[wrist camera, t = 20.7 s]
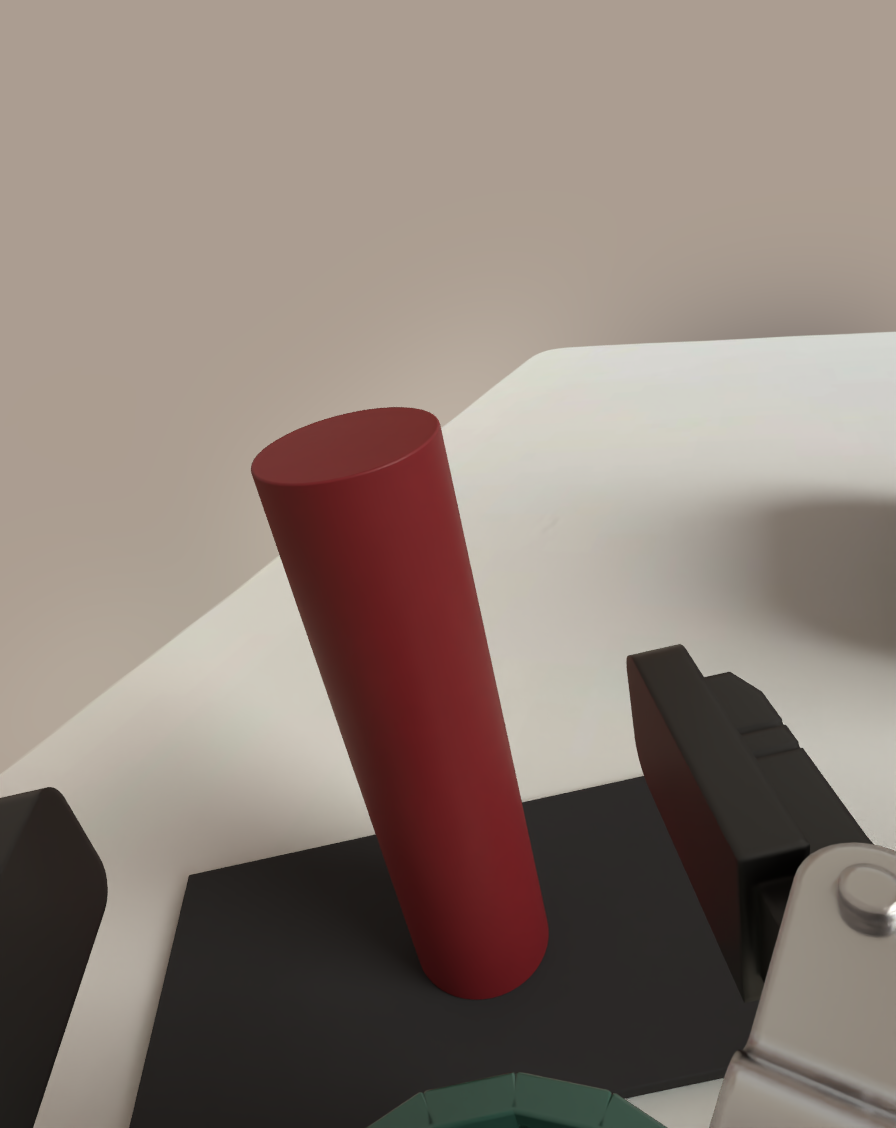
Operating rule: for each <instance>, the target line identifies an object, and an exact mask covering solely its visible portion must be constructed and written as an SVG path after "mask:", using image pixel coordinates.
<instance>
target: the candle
mask: <svg viewBox="0 0 896 1128" xmlns="http://www.w3.org/2000/svg"><path fill="white" fill-rule="evenodd" d="M251 473H252V476H253V479H254V482H255V485H256V487H257V490H258V494H259V496H260V499H261V502H262V505H263V508H264V511H265V514H266V517H267V520H268V522H269V525H270V528H271V531H272V534H273V537H274V540H275V543H276V546H277V549H278V552H279V555H280V557H281V560H282V563H283V566H284V569H285V572H286V575H287V578H288V581H289V584H290V586H291V589H292V592H293V595H294V598H295V601H296V604H297V607H298V610H299V613H300V616H301V618H302V621H303V624H304V627H305V630H306V633H307V636H308V639H309V642H310V645H311V648H312V650H313V653H314V656H315V659H316V662H317V665H318V668H319V671H320V674H321V677H322V679H323V682H324V685H325V688H326V691H327V694H328V697H329V700H330V703H331V706H332V709H333V711H334V714H335V717H336V720H337V723H338V726H339V729H340V732H341V735H342V738H343V741H344V743H345V746H346V749H347V752H348V755H349V758H350V761H351V764H352V767H353V770H354V772H355V775H356V778H357V781H358V784H359V787H360V790H361V793H362V796H363V799H364V802H365V804H366V807H367V810H368V813H369V816H370V819H371V822H372V825H373V828H374V831H375V834H376V836H377V839H378V842H379V845H380V848H381V851H382V854H383V857H384V860H385V863H386V865H387V868H388V871H389V874H390V877H391V880H392V883H393V886H394V889H395V892H396V895H397V897H398V900H399V903H400V906H401V909H402V912H403V915H404V918H405V921H406V924H407V926H408V929H409V932H410V935H411V938H412V941H413V944H414V947H415V950H416V953H417V956H418V958H419V961H420V964H421V966H422V969H423V971H424V972H425V974H426V975H427V977H428V978H429V979H430V980H431V981H432V983H433V984H435V985H436V986H437V987H438V988H440V989H441V990H443V991H445V992H446V993H448V994H451V995H453V996H455V997H459V998H463V999H471V1000H483V999H489V998H494V997H498V996H501V995H503V994H506V993H508V992H510V991H512V990H514V989H515V988H517V987H519V986H520V985H521V984H523V983H524V982H525V981H526V980H527V979H528V978H529V977H530V976H531V975H532V974H533V973H534V972H535V970H536V969H537V968H538V966H539V964H540V963H541V961H542V959H543V957H544V955H545V952H546V948H547V945H548V938H549V928H548V922H547V917H546V912H545V908H544V903H543V898H542V894H541V889H540V885H539V880H538V875H537V871H536V866H535V861H534V857H533V852H532V848H531V843H530V838H529V834H528V829H527V824H526V820H525V815H524V811H523V806H522V801H521V797H520V792H519V787H518V783H517V778H516V774H515V769H514V764H513V760H512V755H511V750H510V746H509V741H508V736H507V732H506V727H505V723H504V718H503V713H502V709H501V704H500V699H499V695H498V690H497V686H496V681H495V676H494V672H493V667H492V662H491V658H490V653H489V649H488V644H487V639H486V635H485V630H484V625H483V621H482V616H481V611H480V607H479V602H478V598H477V593H476V588H475V584H474V579H473V574H472V570H471V565H470V561H469V556H468V551H467V547H466V542H465V537H464V533H463V528H462V524H461V519H460V514H459V510H458V505H457V500H456V496H455V491H454V486H453V482H452V477H451V473H450V468H449V463H448V459H447V454H446V449H445V445H444V440H443V436H442V431H441V426H440V423H439V420H438V419H437V418H436V417H435V416H434V415H433V414H431V413H430V412H427V411H424V410H420V409H415V408H404V407H389V408H377V409H369V410H362V411H357V412H352V413H347V414H343V415H339V416H335V417H331V418H328V419H324V420H322V421H318V422H315V423H313V424H310V425H308V426H305V427H302V428H300V429H297V430H295V431H293V432H291V433H289V434H287V435H285V436H283V437H281V438H280V439H278V440H276V441H275V442H273V443H271V444H270V445H268V446H267V447H266V448H264V449H263V450H262V451H261V452H260V453H259V454H258V455H257V456H256V458H255V459H254V460H253V463H252V466H251Z"/></svg>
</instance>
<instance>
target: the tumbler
mask: <svg viewBox="0 0 896 1128" xmlns="http://www.w3.org/2000/svg"><path fill="white" fill-rule="evenodd" d="M367 1128H667V1127H666V1126H664V1125H663V1124H661V1123H660V1122H658V1121H657V1120H655V1119H654V1118H652V1117H651V1116H649V1115H648V1114H646V1113H645V1112H643V1111H642V1110H640V1109H639V1108H637V1107H636V1106H634V1105H633V1104H631V1103H630V1102H628V1101H627V1100H625V1099H624V1098H622V1097H621V1096H619V1095H618V1094H615V1093H613V1094H612V1093H611V1092H610V1091H609V1090H606V1089H601V1088H596V1087H591V1086H586V1085H581V1084H576V1083H571V1082H567V1081H562V1080H557V1079H552V1078H547V1077H542V1076H537V1075H532V1074H527V1073H522V1072H517V1073H516V1074H515V1073H513V1072H510V1073H505V1074H501V1075H496V1076H491V1077H486V1078H482V1079H477V1080H472V1081H468V1082H463V1083H458V1084H454V1085H449V1086H444V1087H440V1088H435V1089H430V1090H426V1091H425V1092H424V1094H423V1093H422V1092H419V1093H417V1094H416V1095H414V1096H413V1097H411V1098H410V1099H408V1100H407V1101H405V1102H404V1103H402V1104H401V1105H399V1106H398V1107H396V1108H395V1109H394V1110H392V1111H391V1112H389V1113H388V1114H386V1115H385V1116H383V1117H382V1118H380V1119H379V1120H377V1121H376V1122H374V1123H373V1124H371V1125H370V1126H368V1127H367Z"/></svg>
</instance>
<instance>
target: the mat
mask: <svg viewBox="0 0 896 1128" xmlns="http://www.w3.org/2000/svg"><path fill="white" fill-rule="evenodd" d="M522 806H523V811H524V815H525V820H526V824H527V829H528V834H529V838H530V843H531V848H532V852H533V857H534V861H535V866H536V871H537V875H538V880H539V885H540V889H541V894H542V898H543V903H544V908H545V912H546V917H547V922H548V928H549V938H548V945H547V948H546V952H545V955H544V957H543V959H542V961H541V963H540V964H539V966H538V968H537V969H536V970H535V972H534V973H533V974H532V975H531V976H530V977H529V978H528V979H527V980H526V981H525V982H524V983H523V984H521V985H520V986H519V987H517V988H515V989H514V990H512V991H510V992H508V993H506V994H503V995H501V996H498V997H494V998H489V999H483V1000H471V999H463V998H459V997H455V996H453V995H451V994H448V993H446V992H445V991H443V990H441V989H440V988H438V987H437V986H436V985H435V984H433V983H432V981H431V980H430V979H429V978H428V977H427V975H426V974H425V972H424V971H423V969H422V966H421V964H420V961H419V958H418V956H417V953H416V950H415V947H414V944H413V941H412V938H411V935H410V932H409V929H408V926H407V924H406V921H405V918H404V915H403V912H402V909H401V906H400V903H399V900H398V897H397V895H396V892H395V889H394V886H393V883H392V880H391V877H390V874H389V871H388V868H387V865H386V863H385V860H384V857H383V854H382V851H381V848H380V845H379V842H378V839H377V836H376V835H372V836H367V837H362V838H358V839H353V840H349V841H344V842H340V843H335V844H330V845H326V846H321V847H317V848H312V849H307V850H303V851H298V852H294V853H289V854H285V855H280V856H275V857H271V858H266V859H262V860H257V861H253V862H248V863H243V864H239V865H234V866H230V867H225V868H220V869H216V870H211V871H207V872H202V873H198V874H193V875H189V878H188V882H187V887H186V891H185V895H184V899H183V904H182V908H181V912H180V916H179V920H178V925H177V929H176V933H175V937H174V941H173V946H172V950H171V954H170V958H169V963H168V967H167V971H166V975H165V979H164V984H163V988H162V992H161V996H160V1000H159V1005H158V1009H157V1013H156V1017H155V1022H154V1026H153V1030H152V1034H151V1038H150V1043H149V1047H148V1051H147V1055H146V1059H145V1064H144V1068H143V1072H142V1076H141V1081H140V1085H139V1089H138V1093H137V1097H136V1102H135V1106H134V1110H133V1114H132V1118H131V1123H130V1127H129V1128H367V1127H368V1126H370V1125H371V1124H373V1123H374V1122H376V1121H377V1120H379V1119H380V1118H382V1117H383V1116H385V1115H386V1114H388V1113H389V1112H391V1111H392V1110H394V1109H395V1108H396V1107H398V1106H399V1105H401V1104H402V1103H404V1102H405V1101H407V1100H408V1099H410V1098H411V1097H413V1096H414V1095H416V1094H417V1093H419V1092H422V1093H423V1094H424V1092H425V1091H426V1090H430V1089H435V1088H440V1087H444V1086H449V1085H454V1084H458V1083H463V1082H468V1081H472V1080H477V1079H482V1078H486V1077H491V1076H496V1075H501V1074H505V1073H510V1072H513V1073H515V1074H516V1073H517V1072H522V1073H527V1074H532V1075H537V1076H542V1077H547V1078H552V1079H557V1080H562V1081H567V1082H571V1083H576V1084H581V1085H586V1086H591V1087H596V1088H601V1089H606V1090H609V1091H610V1092H611V1093H612V1094H613V1093H615V1094H618V1095H619V1096H621V1097H622V1098H624V1099H625V1098H630V1097H634V1096H639V1095H644V1094H648V1093H653V1092H658V1091H663V1090H667V1089H672V1088H677V1087H681V1086H686V1085H691V1084H696V1083H700V1082H705V1081H710V1080H714V1079H719V1078H724V1077H725V1074H726V1071H727V1068H728V1066H729V1063H730V1061H731V1059H732V1057H733V1055H734V1053H735V1052H736V1051H737V1050H738V1049H740V1050H743V1049H744V1048H745V1046H746V1044H747V1042H748V1039H749V1036H750V1033H751V1029H752V1026H753V1022H754V1019H755V1015H756V1012H757V1008H758V1005H759V1001H760V1000H755V1001H751V1002H746V1003H744V1001H743V999H742V997H741V995H740V992H739V990H738V988H737V986H736V983H735V981H734V979H733V977H732V974H731V972H730V970H729V968H728V965H727V963H726V961H725V959H724V956H723V954H722V952H721V950H720V947H719V945H718V943H717V941H716V938H715V936H714V934H713V932H712V929H711V927H710V925H709V923H708V920H707V918H706V916H705V914H704V911H703V909H702V907H701V905H700V902H699V900H698V898H697V896H696V893H695V891H694V889H693V887H692V884H691V882H690V880H689V878H688V875H687V873H686V871H685V869H684V866H683V864H682V862H681V860H680V857H679V855H678V853H677V850H676V848H675V846H674V844H673V841H672V839H671V837H670V835H669V832H668V830H667V828H666V826H665V823H664V821H663V819H662V817H661V814H660V812H659V810H658V808H657V805H656V803H655V801H654V799H653V796H652V794H651V792H650V790H649V787H648V785H647V782H646V780H645V777H644V776H642V777H637V778H633V779H628V780H624V781H619V782H614V783H610V784H605V785H601V786H596V787H592V788H587V789H582V790H578V791H573V792H569V793H564V794H560V795H555V796H550V797H546V798H541V799H537V800H532V801H527V802H523V803H522Z"/></svg>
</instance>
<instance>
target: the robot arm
mask: <svg viewBox="0 0 896 1128" xmlns="http://www.w3.org/2000/svg"><path fill="white" fill-rule="evenodd" d="M627 675H628V683H629V692H630V700H631V709H632V717H633V726H634V734H635V742H636V747H637V752H638V757H639V761H640V764H641V768H642V771H643V774H644V777H645V780H646V782H647V785H648V787H649V790H650V792H651V794H652V796H653V799H654V801H655V803H656V805H657V808H658V810H659V812H660V814H661V817H662V819H663V821H664V823H665V826H666V828H667V830H668V832H669V835H670V837H671V839H672V841H673V844H674V846H675V848H676V850H677V853H678V855H679V857H680V860H681V862H682V864H683V866H684V869H685V871H686V873H687V875H688V878H689V880H690V882H691V884H692V887H693V889H694V891H695V893H696V896H697V898H698V900H699V902H700V905H701V907H702V909H703V911H704V914H705V916H706V918H707V920H708V923H709V925H710V927H711V929H712V932H713V934H714V936H715V938H716V941H717V943H718V945H719V947H720V950H721V952H722V954H723V956H724V959H725V961H726V963H727V965H728V968H729V970H730V972H731V974H732V977H733V979H734V981H735V983H736V986H737V988H738V990H739V992H740V995H741V997H742V999H743V1001H744V1003H746V1002H751V1001H755V1000H760V1001H759V1005H758V1008H757V1012H756V1015H755V1019H754V1022H753V1026H752V1029H751V1033H750V1036H749V1039H748V1042H747V1044H746V1046H745V1048H744V1049H743V1050H740V1049H738V1050H737V1051H736V1052H735V1053H734V1055H733V1057H732V1059H731V1061H730V1063H729V1066H728V1068H727V1071H726V1074H725V1077H724V1080H723V1083H722V1086H721V1090H720V1093H719V1096H718V1100H717V1103H716V1107H715V1110H714V1113H713V1117H712V1120H711V1124H710V1127H709V1128H896V851H894V850H891V849H888V848H885V847H882V846H878V845H874V844H873V843H872V842H871V841H870V839H869V838H868V837H867V836H866V835H865V833H864V832H863V830H862V829H861V828H860V826H859V825H858V824H857V822H856V821H855V819H854V818H853V817H852V815H851V814H850V813H849V811H848V810H847V808H846V807H845V806H844V804H843V803H842V801H841V800H840V799H839V797H838V796H837V795H836V793H835V792H834V790H833V789H832V788H831V786H830V785H829V784H828V782H827V781H826V779H825V778H824V777H823V775H822V774H821V773H820V771H819V770H818V768H817V767H816V766H815V764H814V763H813V761H812V760H811V759H810V757H809V756H808V755H807V753H806V752H805V750H804V749H803V748H800V747H799V743H798V741H797V739H796V738H795V737H794V735H793V734H792V733H791V731H790V730H789V728H788V727H787V726H786V725H783V723H782V719H781V717H780V716H779V715H778V713H777V712H776V710H775V709H774V708H773V706H772V705H771V704H770V702H769V701H768V699H767V698H766V697H765V695H764V694H763V693H762V692H761V691H760V690H758V689H757V688H755V687H753V686H752V685H750V684H749V683H747V682H745V681H744V680H742V679H741V678H739V677H737V676H736V675H734V674H733V673H731V672H726V673H722V674H717V675H713V676H708V677H703V675H702V674H701V672H700V670H699V669H698V667H697V666H696V664H695V663H694V661H693V659H692V658H691V656H690V655H689V653H688V652H687V650H686V649H685V647H684V646H683V645H681V644H678V645H674V646H669V647H665V648H660V649H656V650H651V651H647V652H642V653H638V654H633V655H629V656H628V657H627ZM107 893H108V887H107V878H106V873H105V869H104V866H103V863H102V861H101V859H100V857H99V856H98V854H97V852H96V851H95V849H94V847H93V846H92V844H91V842H90V840H89V839H88V837H87V835H86V834H85V832H84V830H83V828H82V827H81V825H80V823H79V822H78V820H77V818H76V817H75V815H74V813H73V811H72V810H71V808H70V806H69V805H68V803H67V801H66V799H65V798H64V796H63V795H62V794H61V793H60V792H59V791H58V790H57V789H55V788H52V787H47V788H43V789H38V790H34V791H30V792H25V793H21V794H16V795H12V796H7V797H3V798H0V1128H33V1126H34V1123H35V1120H36V1117H37V1114H38V1111H39V1108H40V1105H41V1102H42V1099H43V1096H44V1093H45V1090H46V1087H47V1084H48V1081H49V1078H50V1074H51V1071H52V1068H53V1065H54V1062H55V1059H56V1056H57V1053H58V1050H59V1047H60V1044H61V1041H62V1038H63V1035H64V1032H65V1029H66V1026H67V1023H68V1020H69V1017H70V1014H71V1011H72V1008H73V1005H74V1002H75V999H76V996H77V993H78V990H79V987H80V984H81V981H82V978H83V975H84V972H85V969H86V966H87V963H88V960H89V956H90V953H91V950H92V947H93V944H94V941H95V938H96V935H97V932H98V929H99V926H100V923H101V920H102V917H103V914H104V911H105V907H106V903H107Z"/></svg>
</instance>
